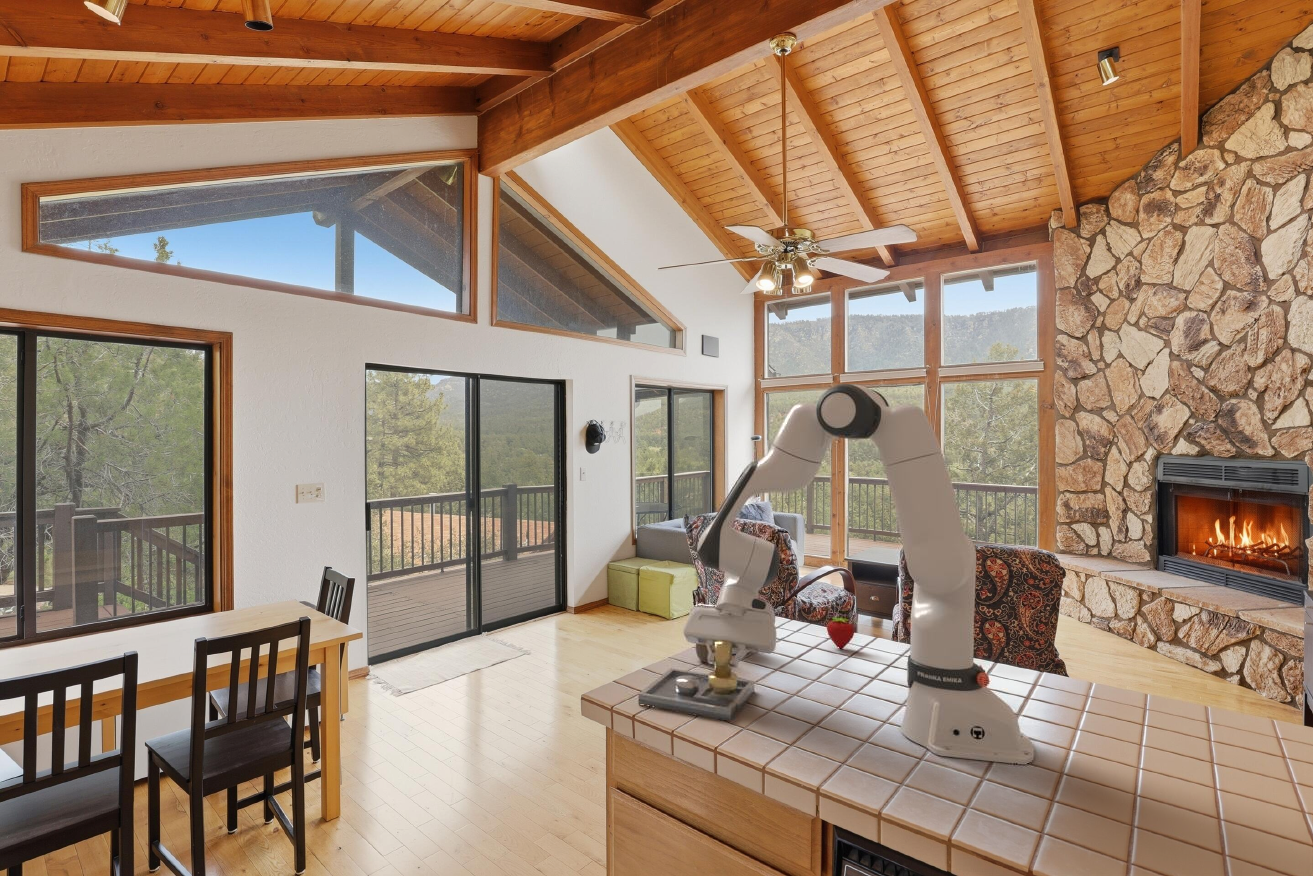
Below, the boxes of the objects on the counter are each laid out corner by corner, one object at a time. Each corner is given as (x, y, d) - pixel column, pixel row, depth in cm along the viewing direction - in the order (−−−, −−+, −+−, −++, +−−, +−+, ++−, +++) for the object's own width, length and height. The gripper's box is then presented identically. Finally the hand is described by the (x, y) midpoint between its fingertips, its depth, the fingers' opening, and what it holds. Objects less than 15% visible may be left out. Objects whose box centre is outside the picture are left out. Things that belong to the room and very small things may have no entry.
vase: (722, 657, 171) (723, 623, 171) (722, 665, 164) (723, 630, 164) (695, 655, 171) (696, 621, 172) (694, 664, 165) (695, 629, 165)
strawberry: (849, 654, 174) (850, 616, 175) (822, 649, 179) (823, 612, 179) (857, 649, 179) (858, 612, 179) (831, 644, 184) (831, 608, 184)
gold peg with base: (740, 687, 142) (740, 640, 142) (732, 696, 136) (732, 648, 136) (713, 683, 144) (714, 636, 144) (704, 692, 139) (705, 644, 139)
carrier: (756, 691, 146) (756, 675, 147) (732, 722, 130) (732, 703, 130) (670, 677, 155) (670, 662, 155) (638, 704, 138) (638, 687, 138)
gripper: (689, 595, 151) (672, 649, 142) (778, 604, 143) (766, 663, 134) (695, 610, 155) (680, 664, 146) (782, 620, 147) (771, 678, 138)
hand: (722, 664), depth 140 cm, fingers closed on gold peg with base, 3 cm apart
